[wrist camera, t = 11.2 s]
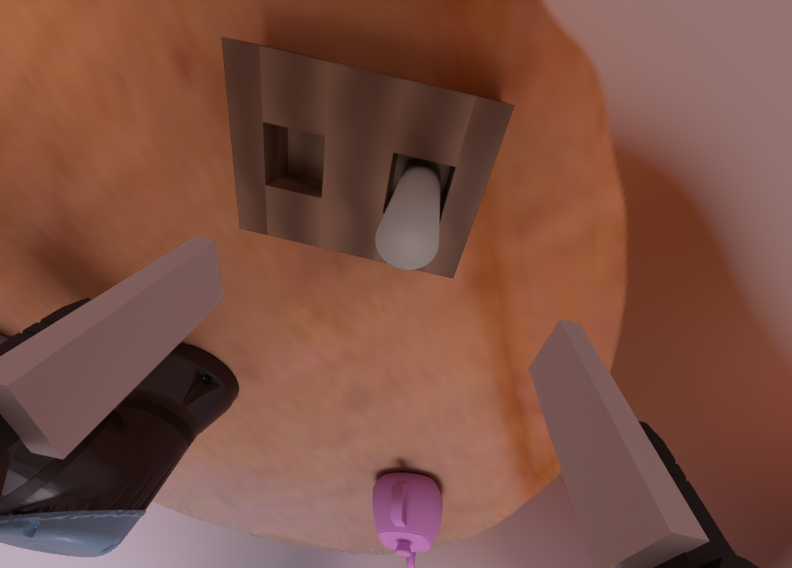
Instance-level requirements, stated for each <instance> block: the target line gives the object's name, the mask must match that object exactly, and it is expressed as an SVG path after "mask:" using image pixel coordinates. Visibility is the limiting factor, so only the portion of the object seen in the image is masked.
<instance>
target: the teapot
mask: <svg viewBox="0 0 792 568" xmlns="http://www.w3.org/2000/svg"><path fill="white" fill-rule="evenodd" d="M442 509H443V499H442V495H441V493H440V490H439V488H438V486H437V485H436V483H435V481H434V480H433V479H431V478H429V477H427V476H424V475H420V474H414V473H405V472H399V473H389V474H385V475H383V476H381V477H380V478H379V480H378V481H377V482H376V483H375V486H374V488H373V514H374V520H375V525H376V529H377V533H378V537H379V539H380V541H381V543H382V544H383V545H384V546H385V547H388V548H391V549H394V550H396V551H395V553H396V554H397V555H399V556H402V557H407V568H414V566H415V555H416V552H424V551H428V550H429V549H430V548H431V546H432V544H433V542H434V540H435V537H436V535H437V532H438V529H439V526H440V522H441V517H442Z"/></svg>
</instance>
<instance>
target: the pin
mask: <svg viewBox="0 0 792 568" xmlns="http://www.w3.org/2000/svg"><path fill="white" fill-rule="evenodd" d="M440 180H441V174H440V169H439V167H438V165H437V164H436V163H435V162H432V161H428V160H424V159H419V158H414V159H412V160H411V161H410V162H409V163H408V164H407V165H406V167H405V169H404V171H403V173H402V176H401V178H400V180H399V182H398V185H397V187H396V189H395V191H394V194H393V196H392V198H391V200H390V203H389V205H388V207H387V209H386V212H385V214H384V216H383V218H382V221H381V223H380V225H379V227H378V230H377V233H376V238H375V242H376V247H377V250H378V253H379V254H380V256H381V257H382V258H383V260H384V261H385V262H387V263H388V264H389V265H391V266H393V267H395V268H398V269H401V270H415V269H419V268H422V267H424V266H425V265H427V264H428V263H430V262H431V261H432V260H433V258H434V257H435V255H436V253H437V251H438V247H439V218H440Z"/></svg>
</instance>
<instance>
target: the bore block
mask: <svg viewBox="0 0 792 568" xmlns="http://www.w3.org/2000/svg"><path fill="white" fill-rule="evenodd" d="M222 48H223V58H224V68H225V79H226V89H227V100H228V110H229V121H230V131H231V142H232V152H233V163H234V173H235V184H236V194H237V205H238V215H239V225H240V229H244V230H248V231H253V232H257V233H261V234H266V235H270V236H274V237H278V238H283V239H287V240H291V241H295V242H300V243H304V244H308V245H312V246H317V247H321V248H325V249H329V250H334V251H338V252H342V253H347V254H351V255H355V256H359V257H364V258H368V259H372V260H376V261H381V262H385V261H384V260H383V258H382V257H381V256H380V254H379V253H378V250H377V247H376V242H375V238H376V233H377V230H378V227H379V225H380V223H381V221H382V218H383V216H384V214H385V212H386V209H387V207H388V205H389V203H390V200H391V198H392V196H393V194H394V191H395V189H396V187H397V185H398V182H399V180H400V178H401V176H402V173H403V171H404V169H405V167H406V165H407V164H408V163H409V162H410V161H411V160H412V159H414V158H419V159H424V160H428V161H432V162H435V163H436V164H437V165H438V167H439V169H440V174H441V180H440V218H439V247H438V251H437V253H436V255H435V257H434V258H433V260H432V261H431V262H430V263H428V264H427V265H425V266H424V267H422V268H419V269H415V270H419V271H423V272H428V273H432V274H436V275H440V276H445V277H449V278H454V275H455V272H456V269H457V266H458V263H459V261H460V258H461V255H462V252H463V249H464V247H465V244H466V241H467V238H468V235H469V233H470V230H471V227H472V224H473V221H474V218H475V216H476V213H477V210H478V207H479V204H480V202H481V199H482V196H483V193H484V190H485V187H486V185H487V182H488V179H489V176H490V173H491V171H492V168H493V165H494V162H495V159H496V156H497V154H498V151H499V148H500V145H501V142H502V140H503V137H504V134H505V131H506V128H507V125H508V123H509V120H510V117H511V114H512V111H513V109H514V106H515V105H511V104H508V103H505V102H502V101H499V100H494V99H490V98H486V97H482V96H477V95H473V94H469V93H465V92H460V91H456V90H452V89H448V88H443V87H439V86H435V85H430V84H426V83H422V82H418V81H413V80H409V79H405V78H401V77H396V76H392V75H388V74H384V73H379V72H375V71H371V70H366V69H362V68H358V67H354V66H349V65H345V64H341V63H337V62H332V61H328V60H324V59H320V58H315V57H311V56H307V55H302V54H298V53H294V52H290V51H285V50H281V49H277V48H273V47H268V46H264V45H259V44H254V43H249V42H244V41H239V40H235V39H230V38H225V37H222ZM385 263H387V262H385Z"/></svg>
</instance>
